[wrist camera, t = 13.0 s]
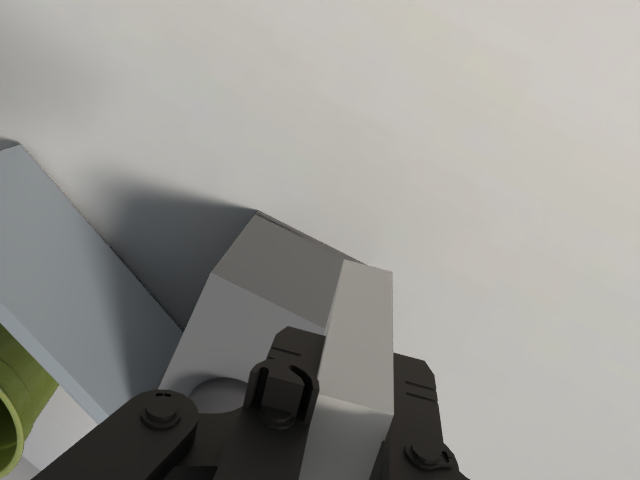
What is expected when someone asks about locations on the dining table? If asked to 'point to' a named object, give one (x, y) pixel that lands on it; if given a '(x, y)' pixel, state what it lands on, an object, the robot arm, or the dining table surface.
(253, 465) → the robot arm
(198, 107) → the dining table surface
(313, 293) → the block
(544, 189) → the dining table surface
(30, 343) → the side door
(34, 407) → the plant pot
